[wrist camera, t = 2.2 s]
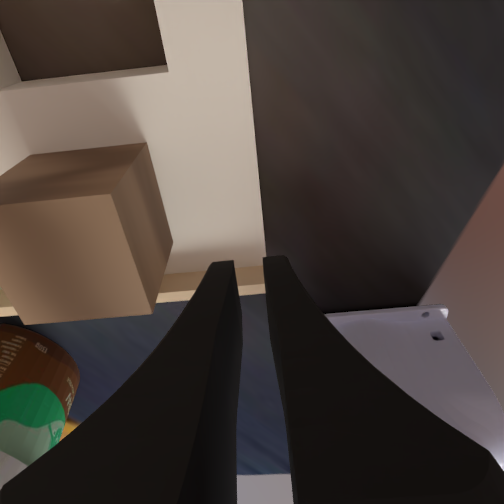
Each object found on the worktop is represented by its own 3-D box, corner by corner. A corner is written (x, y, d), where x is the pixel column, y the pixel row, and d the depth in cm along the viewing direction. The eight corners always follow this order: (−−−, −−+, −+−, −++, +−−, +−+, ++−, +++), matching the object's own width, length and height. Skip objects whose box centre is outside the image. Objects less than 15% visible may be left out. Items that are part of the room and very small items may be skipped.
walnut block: (147, 142, 15) (110, 193, 11) (173, 242, 18) (152, 313, 14) (30, 154, 15) (-49, 210, 11) (74, 252, 18) (24, 325, 14)
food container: (95, 422, 31) (41, 574, 23) (18, 414, 30) (-67, 569, 22) (97, 322, 24) (21, 485, 16) (-2, 307, 23) (-135, 471, 15)
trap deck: (219, -239, 11) (205, -386, 7) (265, 248, 21) (270, 306, 17) (-386, -150, 12) (-722, -234, 8) (-63, 278, 22) (-135, 342, 18)
